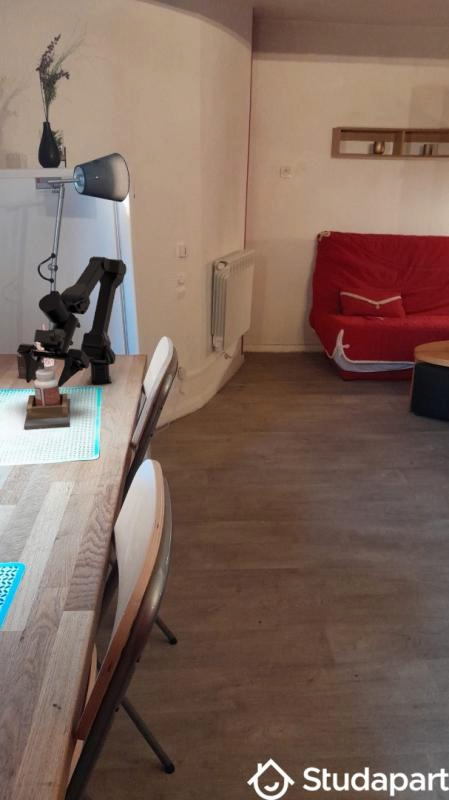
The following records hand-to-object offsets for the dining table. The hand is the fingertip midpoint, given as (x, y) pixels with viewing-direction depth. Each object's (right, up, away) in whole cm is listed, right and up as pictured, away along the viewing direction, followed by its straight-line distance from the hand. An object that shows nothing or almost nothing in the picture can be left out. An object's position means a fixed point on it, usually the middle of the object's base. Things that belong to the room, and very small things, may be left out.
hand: (43, 384), depth 145 cm
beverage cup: (-13, +8, +46) cm, 48 cm away
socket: (0, -8, +4) cm, 9 cm away
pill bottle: (0, -7, +4) cm, 8 cm away
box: (-14, +3, +34) cm, 37 cm away
